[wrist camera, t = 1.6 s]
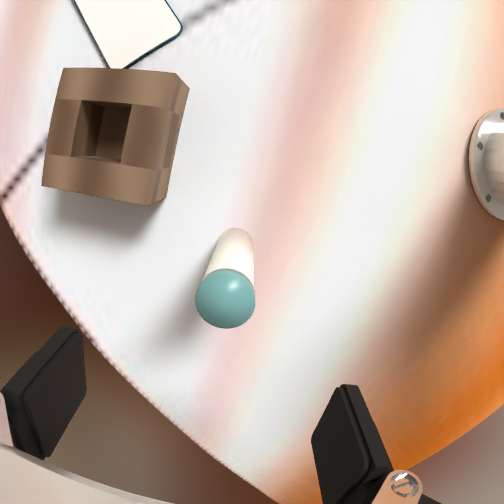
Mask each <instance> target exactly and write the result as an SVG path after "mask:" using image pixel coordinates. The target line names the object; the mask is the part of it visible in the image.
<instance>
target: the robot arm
mask: <svg viewBox="0 0 504 504" xmlns="http://www.w3.org/2000/svg"><path fill="white" fill-rule="evenodd" d="M469 170H470V176H471V181H472V184H473V188H474V191H475V193H476V196H477V198H478V200H479V201H480V203H481V205H482V206H483V208H484V209H485V210H486V211H487V212H488V213H489V214H491V215H492V216H494V217H496V218H499V219H501V220H504V109H496V110H491V111H489V112H487V113H486V114H484V115H483V117H482V118H481V119H480V120H479V121H478V123H477V125H476V126H475V129H474V131H473V134H472V137H471V142H470V148H469ZM86 388H87V387H86V377H85V364H84V349H83V336H82V334H79V330H78V329H76V328H73V327H70V326H67V325H63V326H62V327H61V328H60V329H59V330H58V331H57V332H56V333H55V334H54V335H53V336H52V337H51V338H50V339H49V340H48V341H47V342H46V343H45V344H44V345H43V346H42V348H41V349H40V350H39V351H37V352H36V353H34V354H33V355H32V356H31V358H30V359H29V360H28V361H27V362H26V363H25V364H24V365H23V366H22V367H21V368H20V369H19V370H18V372H17V373H16V374H15V375H14V376H13V377H12V378H11V380H10V381H9V382H8V383H7V384H6V385H5V386H4V387H3V389H2V390H1V391H0V504H173V503H168V502H164V501H160V500H155V499H151V498H147V497H144V496H140V495H136V494H133V493H129V492H126V491H122V490H119V489H115V488H112V487H109V486H107V485H104V484H101V483H98V482H95V481H92V480H90V479H87V478H84V477H82V476H79V475H76V474H74V473H71V472H69V471H66V470H64V469H61V468H59V467H57V466H54V465H52V464H50V463H47V462H45V461H43V460H44V459H45V457H46V456H47V457H50V455H51V454H52V452H53V451H54V449H55V447H56V445H57V443H58V441H59V440H60V438H61V436H62V434H63V433H64V431H65V429H66V428H67V426H68V424H69V422H70V420H71V419H72V417H73V415H74V413H75V412H76V410H77V409H78V407H79V405H80V403H81V402H82V400H83V399H84V397H85V394H86ZM311 444H312V449H313V454H314V459H315V464H316V469H317V474H318V480H319V485H320V490H321V495H322V501H323V504H441V503H439V502H437V501H435V500H433V499H431V498H429V497H427V496H425V495H423V494H422V489H423V487H422V483H421V481H420V479H419V478H418V477H417V476H416V475H415V474H413V473H412V472H410V471H407V470H395V471H394V469H393V467H392V464H391V462H390V459H389V457H388V454H387V452H386V449H385V447H384V445H383V442H382V440H381V437H380V435H379V433H378V430H377V428H376V425H375V423H374V422H373V420H372V418H371V415H370V413H369V410H368V408H367V406H366V403H365V401H364V399H363V396H362V394H361V392H360V390H359V387H358V386H357V385H347V384H342V385H341V386H340V388H339V387H338V388H336V389H335V391H334V393H333V395H332V397H331V399H330V401H329V403H328V405H327V407H326V409H325V411H324V413H323V415H322V417H321V419H320V421H319V423H318V425H317V427H316V428H315V430H314V432H313V434H312V438H311Z"/></svg>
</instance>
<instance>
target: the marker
mask: <svg viewBox="0 0 504 504" xmlns="http://www.w3.org/2000/svg"><path fill="white" fill-rule="evenodd" d="M196 307H197V310H198V312H199V314H200V315H201V317H202V318H203V319H204V320H205V321H206V322H208V323H209V324H211V325H213V326H215V327H219V328H235V327H238V326H240V325H242V324H244V323H245V322H246V321H247V320H248V319H249V318H250V317H251V315H252V314H253V311H254V308H255V290H254V256H253V240H252V238H251V236H250V235H249V234H248V233H247V232H246V231H245V230H243V229H240V228H231V229H228V230H226V231H225V232H223V233H222V234H221V236H220V238H219V240H218V242H217V245H216V247H215V250H214V252H213V255H212V258H211V260H210V263H209V265H208V268H207V270H206V273H205V275H204V278H203V280H202V282H201V283H200V286H199V288H198V291H197V294H196Z"/></svg>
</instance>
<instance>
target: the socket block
mask: <svg viewBox="0 0 504 504" xmlns="http://www.w3.org/2000/svg"><path fill="white" fill-rule="evenodd" d="M189 89H190V88H189V87H188V86H187V85H186V84H185V83H184V82H183V81H182V80H181V79H180V78H179V76H178V75H177V74H176V73H169V72H160V71H149V70H135V69H117V68H63V71H62V75H61V79H60V83H59V86H58V90H57V95H56V99H55V103H54V108H53V113H52V118H51V123H50V128H49V134H48V140H47V146H46V152H45V160H44V167H43V176H42V185H41V186H45V187H50V188H56V189H61V190H66V191H72V192H77V193H82V194H87V195H93V196H98V197H103V198H108V199H113V200H118V201H123V202H128V203H133V204H138V205H143V206H149V205H151V204H153V203H155V202H157V201H159V200H161V199H163V198H165V197H166V195H167V190H168V184H169V179H170V174H171V169H172V164H173V159H174V154H175V149H176V144H177V140H178V135H179V131H180V126H181V122H182V117H183V113H184V109H185V105H186V101H187V97H188V93H189Z"/></svg>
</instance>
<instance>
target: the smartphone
mask: <svg viewBox="0 0 504 504" xmlns="http://www.w3.org/2000/svg"><path fill="white" fill-rule="evenodd" d="M74 3H75V5H76V7H77V8H78V11H79V13H80V14H81V16H82V18H83V20H84V21H85V23H86V25H87V27H88V29H89V31H90V33H91V35H92V37H93V39H94V41H95V43H96V45H97V47H98V48H99V50H100V52H101V54H102V56H103V58H104V60H105V62H106V64H107V65H108V67H109V68H117V69H127V68H128V67H130V66H131V65H133V64H134V63H135V62H136V61H138V60H140V59H141V58H143V57H145V56H146V55H148V54H149V53H150V52H152V51H153V50H155V49H158V48H159V47H161V46H162V45H164V44H166V43H168V42H169V41H171V40H173V39H175V38H176V37H178V36H179V35H180V34H181V33H182V30H183V26H182V24H181V22H180V21H179V19H178V18H177V16H176V15H175V13H174V12H173V10H172V9H171V7H170V6H169V4H168V3H167V1H166V0H74Z"/></svg>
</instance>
